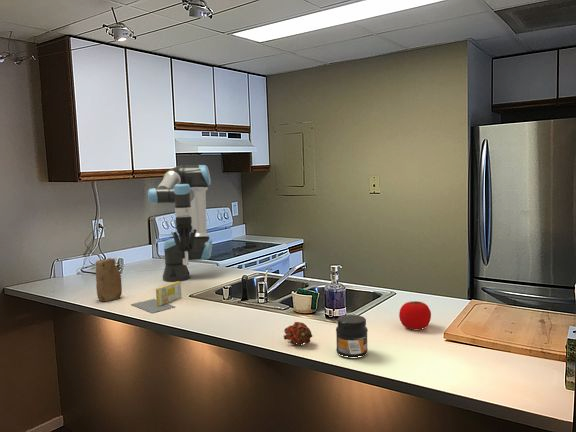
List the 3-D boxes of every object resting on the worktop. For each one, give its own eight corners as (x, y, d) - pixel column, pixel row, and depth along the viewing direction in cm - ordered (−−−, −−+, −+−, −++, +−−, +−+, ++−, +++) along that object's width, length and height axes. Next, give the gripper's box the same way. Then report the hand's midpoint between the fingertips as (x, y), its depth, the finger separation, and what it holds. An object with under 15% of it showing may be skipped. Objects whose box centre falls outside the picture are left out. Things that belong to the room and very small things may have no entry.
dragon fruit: (310, 353, 170) (286, 349, 179) (321, 333, 175) (297, 331, 184) (298, 337, 167) (274, 334, 175) (309, 318, 171) (285, 316, 180)
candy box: (178, 297, 241) (178, 280, 240) (182, 297, 240) (181, 281, 239) (156, 305, 226) (155, 287, 225) (159, 306, 225) (159, 288, 224)
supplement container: (356, 362, 158) (355, 326, 156) (330, 354, 165) (329, 319, 163) (373, 352, 165) (373, 317, 164) (348, 345, 172) (347, 312, 171)
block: (101, 303, 234) (98, 262, 232) (96, 300, 240) (93, 259, 238) (123, 298, 241) (121, 258, 239) (118, 295, 247) (115, 256, 245)
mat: (154, 299, 238) (154, 298, 238) (175, 307, 224) (175, 306, 224) (130, 304, 230) (130, 304, 230) (152, 313, 216) (151, 312, 216)
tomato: (412, 335, 181) (412, 307, 180) (393, 325, 191) (393, 299, 190) (437, 330, 185) (438, 303, 184) (418, 321, 196) (418, 295, 195)
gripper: (175, 217, 228) (178, 267, 230) (199, 215, 237) (201, 263, 239) (167, 217, 234) (169, 265, 236) (190, 214, 242) (192, 261, 245)
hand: (185, 264), depth 238 cm, fingers closed
